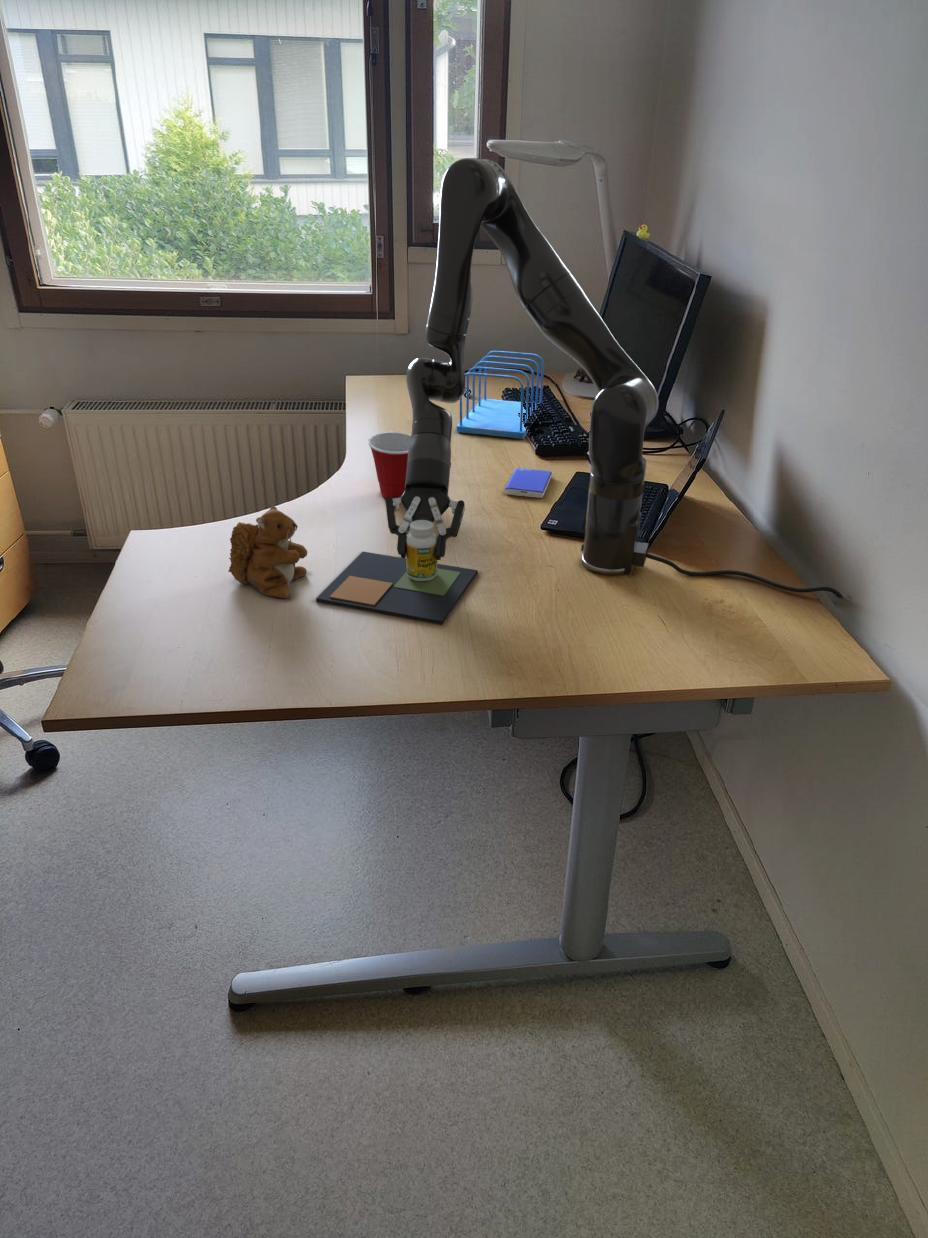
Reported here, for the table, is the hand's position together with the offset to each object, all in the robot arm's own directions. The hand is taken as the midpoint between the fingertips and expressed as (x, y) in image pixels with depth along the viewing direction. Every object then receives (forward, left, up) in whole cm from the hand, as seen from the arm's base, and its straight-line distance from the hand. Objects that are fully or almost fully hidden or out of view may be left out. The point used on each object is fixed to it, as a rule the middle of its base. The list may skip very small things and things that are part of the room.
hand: (420, 557), depth 150 cm
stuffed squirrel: (+25, +8, -5) cm, 27 cm away
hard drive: (-6, -51, -5) cm, 51 cm away
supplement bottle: (+1, -2, -4) cm, 5 cm away
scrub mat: (+3, +2, -5) cm, 6 cm away
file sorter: (+12, -92, -5) cm, 93 cm away
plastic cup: (+19, -36, -5) cm, 41 cm away
